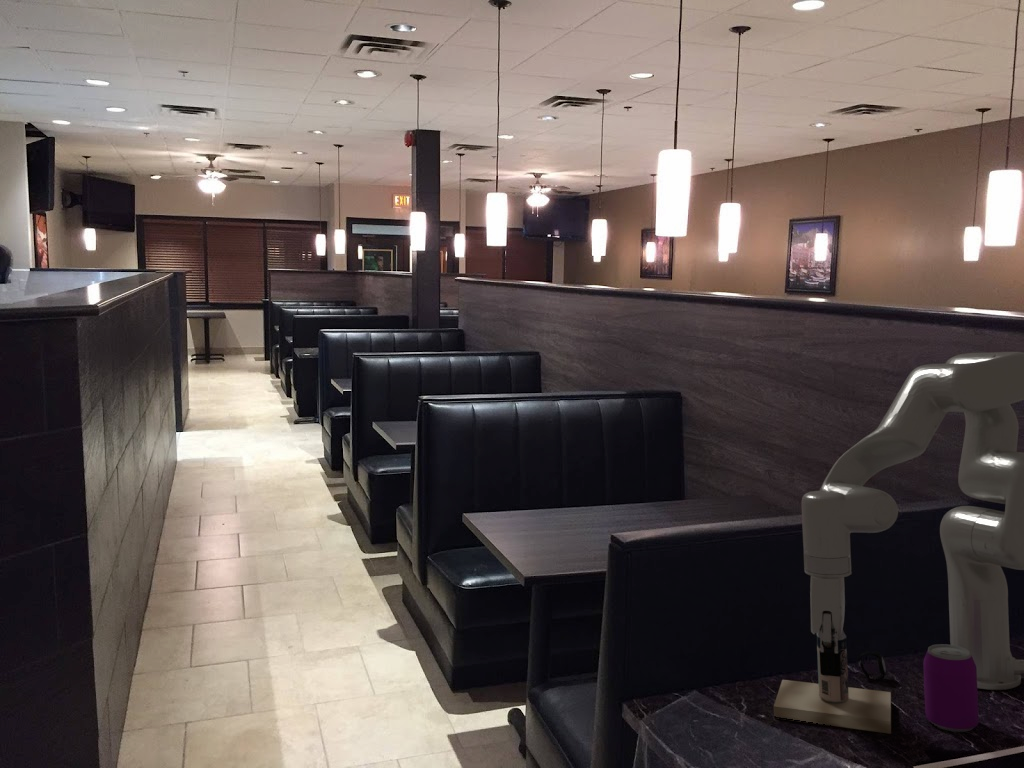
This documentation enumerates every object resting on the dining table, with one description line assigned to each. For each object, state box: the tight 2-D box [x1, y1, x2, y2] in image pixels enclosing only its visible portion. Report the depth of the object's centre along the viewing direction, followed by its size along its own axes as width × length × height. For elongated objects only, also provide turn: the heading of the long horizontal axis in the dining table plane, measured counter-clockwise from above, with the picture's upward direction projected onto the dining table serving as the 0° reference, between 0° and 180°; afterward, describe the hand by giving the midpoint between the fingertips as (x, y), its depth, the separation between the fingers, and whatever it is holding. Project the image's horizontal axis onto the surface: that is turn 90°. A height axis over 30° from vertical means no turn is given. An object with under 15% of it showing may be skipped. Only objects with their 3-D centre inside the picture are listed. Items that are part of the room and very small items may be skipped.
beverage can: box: [922, 643, 979, 733], centre depth 131 cm, size 8×8×12 cm
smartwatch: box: [857, 650, 888, 680], centre depth 151 cm, size 4×5×5 cm
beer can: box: [816, 629, 849, 703], centre depth 138 cm, size 5×5×12 cm
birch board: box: [773, 679, 892, 735], centre depth 138 cm, size 18×12×2 cm, turn 65°
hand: (832, 667), depth 138 cm, fingers open, 5 cm apart
